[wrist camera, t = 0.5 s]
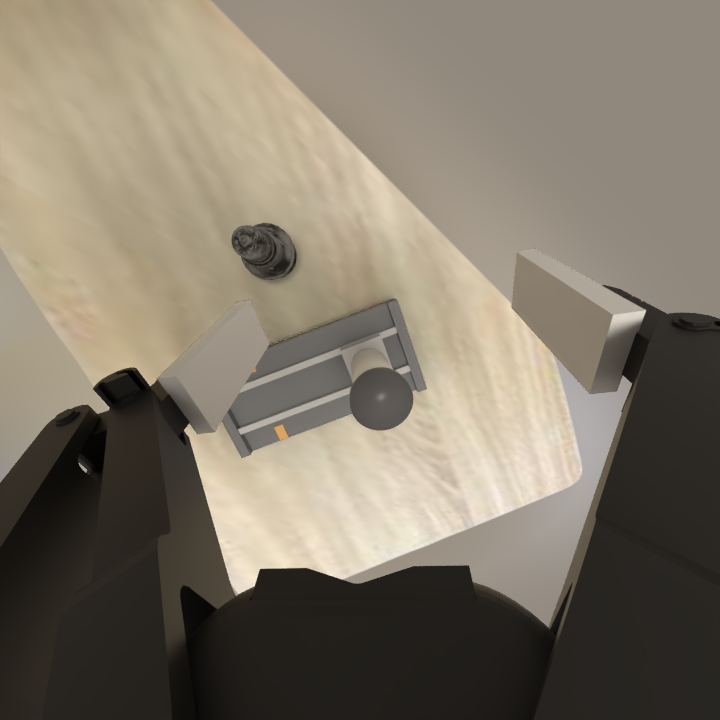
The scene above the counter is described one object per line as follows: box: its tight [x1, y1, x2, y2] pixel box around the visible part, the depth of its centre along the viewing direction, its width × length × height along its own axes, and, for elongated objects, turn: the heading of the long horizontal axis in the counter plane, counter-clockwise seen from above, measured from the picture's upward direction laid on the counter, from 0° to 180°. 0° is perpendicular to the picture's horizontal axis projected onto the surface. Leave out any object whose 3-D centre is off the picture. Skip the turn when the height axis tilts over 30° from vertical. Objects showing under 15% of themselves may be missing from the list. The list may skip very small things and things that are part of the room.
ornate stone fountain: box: [232, 223, 296, 280], centre depth 30 cm, size 6×6×12 cm
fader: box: [340, 334, 413, 430], centre depth 30 cm, size 6×5×13 cm
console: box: [222, 299, 427, 458], centre depth 38 cm, size 12×26×3 cm, turn 111°
